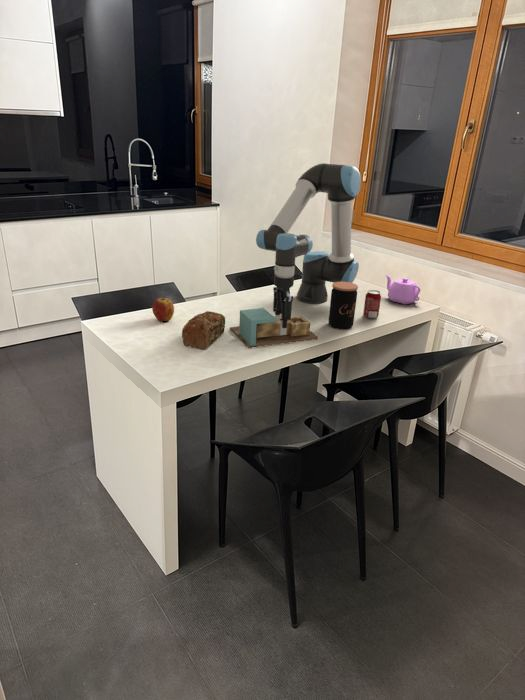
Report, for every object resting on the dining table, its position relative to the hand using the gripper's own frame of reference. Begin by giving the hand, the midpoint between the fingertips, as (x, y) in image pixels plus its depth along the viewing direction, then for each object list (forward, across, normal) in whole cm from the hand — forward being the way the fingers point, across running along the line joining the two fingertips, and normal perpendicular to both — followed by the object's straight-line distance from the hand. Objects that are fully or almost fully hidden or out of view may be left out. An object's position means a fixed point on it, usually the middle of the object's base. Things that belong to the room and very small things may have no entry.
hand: (280, 332), depth 197 cm
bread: (+2, -6, -30) cm, 30 cm away
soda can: (+2, -10, +49) cm, 50 cm away
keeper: (+2, +1, -10) cm, 11 cm away
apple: (+2, -30, -40) cm, 51 cm away
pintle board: (+2, -4, -2) cm, 4 cm away
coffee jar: (+2, -4, +30) cm, 31 cm away
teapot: (+2, -27, +78) cm, 82 cm away
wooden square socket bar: (0, 0, 0) cm, 0 cm away
